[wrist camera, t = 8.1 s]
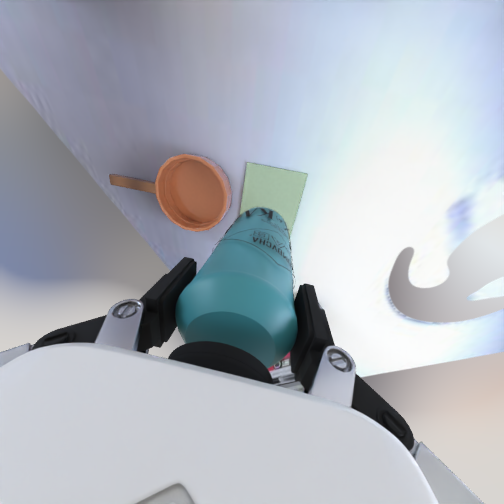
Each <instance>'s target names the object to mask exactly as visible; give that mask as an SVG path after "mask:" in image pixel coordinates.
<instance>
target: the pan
mask: <svg viewBox="0 0 504 504" xmlns="http://www.w3.org/2000/svg"><path fill="white" fill-rule="evenodd" d="M155 186H156V197H157V200H158V202H159V204H160V207H161V209H162V211H163V212H164V213H165V214H166V215H167V217H168V218H169V219H170V220H171V221H172V222H173V223H175V224H176V225H178V226H180V227H181V228H183V229H186V230H191V231H195V232H198V231H204V230H209V229H211V228H212V227H213V226H215V225H216V224H218V223H219V222H220V221H221V220H222V219H223V218H224V217H225V215H226V213H227V212H228V210H229V208H230V205H231V197H232V191H231V187H230V183H229V180H228V177H227V176H226V175H225V173H224V172H223V170H222V169H221V167H220V166H219V165H217V164H216V163H215V162H213V161H212V160H210V159H209V158H207V157H203V156H198V155H193V154H182V155H178V156H175V157H171V158H169V159H168V160H167V161H166V162H165V163H164V164H163V165H162V166H161V167H160V169H159V172H158V175H157V178H156V181H155Z"/></svg>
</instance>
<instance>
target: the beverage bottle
mask: <svg viewBox="0 0 504 504" xmlns="http://www.w3.org/2000/svg"><path fill="white" fill-rule="evenodd" d="M275 211H276V210H275ZM275 211H274V210H272V208H271V209H269V207H268V208H265V207H264V206H262V207H258V206H256V208H252V209H251V208H250V209H249V210H247V211H245V212H242V213H243V214H242V215H239V217H238V218H237V219H235V220H236V221H235V223H234V222H233V223H234V224H232V225H233V226H232V225H231V226H230V228H231V229H230V228H229V229H230V230H229V229H228V230H229V231H228V230H227V231H226V232H225V234H226V233H227V234H226V235H225V236H224V238H223V239H222V240H219V241H221V242H220V243H219V242H217V243H219V244H218V245H217V247H216V248H215V250H214V252H213V253H212V255H211V256H210V257H209V259H208V260H207V261H206V263H205V264H204V265H203V267H202V268H201V269H200V271H199V272H198V273H197V275H196V276H195V278H194V279H193V280H192V282H191V283H190V284H189V285H188V286H186V288H185V289H184V290H183V292H182V293H181V295H180V296H179V298H178V300H177V303H176V309H175V318H176V323H177V327H178V329H179V332H180V334H181V336H182V338H183V340H184V342H185V344H184V345H182V346H180V347H178V348H176V349H175V350H174V351H173V352H172V353H171V354H170V356H169V358H168V359H171V360H175V361H179V362H183V363H187V364H191V365H195V366H199V367H203V368H207V369H212V370H216V371H220V372H224V373H228V374H232V375H236V376H240V377H244V378H248V379H252V380H256V381H260V382H264V383H268V384H272V385H273V379H272V376H271V374H270V372H269V370H268V368H270V367H271V366H273V365H274V364H276V363H278V362H279V361H280V360H282V359H283V358H284V357H285V356H286V355H287V354H288V353H289V352H290V350H291V349H292V347H293V346H294V344H295V341H296V337H297V332H298V325H297V318H296V314H295V308H294V296H293V288H294V287H293V282H294V280H293V277H292V270H293V268H292V267H293V266H292V265H293V263H292V262H291V260H293V259H291V258H292V257H291V256H290V255H291V254H290V250H291V248H290V247H289V246H290V244H291V241H290V242H289V238H290V237H288V235H289V232H288V230H289V229H287V225H286V222H285V221H284V218H282V216H280V215H279V214H278V213H279V212H278V213H277V212H275ZM288 228H289V227H288ZM217 243H216V244H217ZM289 243H290V244H289ZM216 244H215V245H216ZM213 249H214V248H213ZM291 263H292V264H291ZM291 266H292V267H291ZM293 276H294V275H293ZM294 278H295V277H294Z"/></svg>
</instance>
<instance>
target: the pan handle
mask: <svg viewBox="0 0 504 504" xmlns="http://www.w3.org/2000/svg"><path fill="white" fill-rule="evenodd" d="M109 177H110V183H111V185H116V186H121V187H126V188H131V189H136V190H140V191H145V192H150V193H155V194H156V186H155V182H151V181H146V180H141V179H136V178H131V177H126V176H121V175H117V174H110V175H109Z"/></svg>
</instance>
